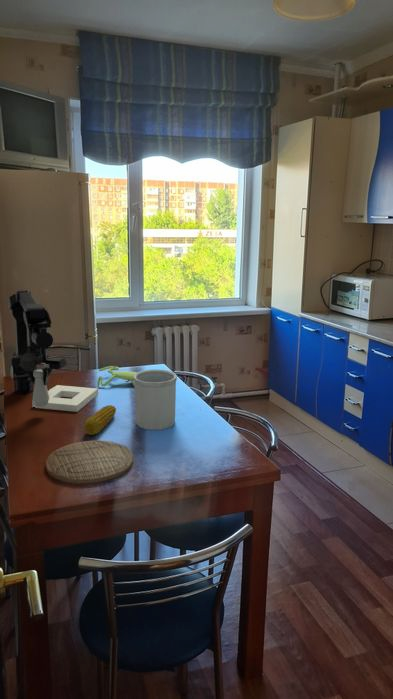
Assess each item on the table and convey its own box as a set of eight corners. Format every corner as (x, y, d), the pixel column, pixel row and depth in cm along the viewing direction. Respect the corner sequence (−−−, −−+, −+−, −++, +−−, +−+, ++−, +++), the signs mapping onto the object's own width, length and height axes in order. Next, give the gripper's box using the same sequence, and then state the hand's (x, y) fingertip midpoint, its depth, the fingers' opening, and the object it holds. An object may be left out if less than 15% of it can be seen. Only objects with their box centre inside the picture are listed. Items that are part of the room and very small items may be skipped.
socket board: (32, 407, 193) (32, 401, 192) (57, 390, 212) (56, 385, 211) (77, 411, 189) (76, 405, 189) (98, 394, 208) (97, 388, 208)
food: (98, 438, 167) (97, 421, 166) (81, 437, 168) (81, 420, 167) (119, 415, 187) (118, 399, 186) (104, 414, 188) (103, 398, 187)
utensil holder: (170, 433, 172) (170, 383, 168) (128, 428, 175) (127, 380, 171) (180, 417, 186) (181, 371, 182) (141, 413, 189) (141, 368, 185)
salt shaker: (52, 402, 187) (50, 368, 184) (46, 407, 182) (44, 373, 178) (36, 401, 188) (34, 367, 184) (30, 407, 182) (28, 372, 179)
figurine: (101, 375, 235) (101, 363, 233) (159, 377, 232) (159, 366, 231) (90, 388, 217) (89, 375, 215) (152, 391, 215) (152, 378, 213)
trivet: (40, 453, 156) (40, 448, 156) (120, 441, 166) (120, 435, 166) (53, 493, 134) (53, 486, 134) (144, 475, 144) (144, 469, 144)
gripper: (0, 346, 173) (3, 389, 177) (51, 349, 169) (53, 394, 173) (17, 338, 184) (20, 380, 188) (66, 342, 180) (68, 384, 184)
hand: (40, 384), depth 183 cm, fingers closed on salt shaker, 4 cm apart
